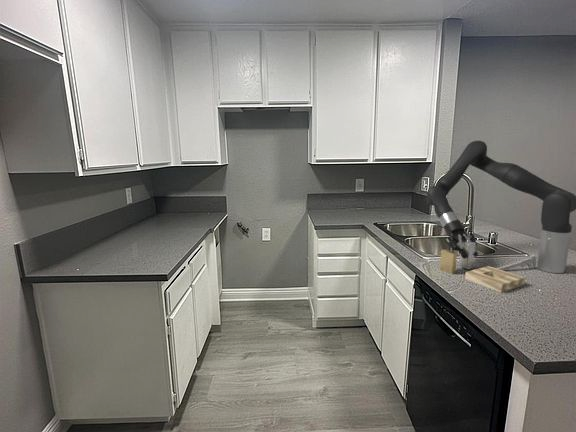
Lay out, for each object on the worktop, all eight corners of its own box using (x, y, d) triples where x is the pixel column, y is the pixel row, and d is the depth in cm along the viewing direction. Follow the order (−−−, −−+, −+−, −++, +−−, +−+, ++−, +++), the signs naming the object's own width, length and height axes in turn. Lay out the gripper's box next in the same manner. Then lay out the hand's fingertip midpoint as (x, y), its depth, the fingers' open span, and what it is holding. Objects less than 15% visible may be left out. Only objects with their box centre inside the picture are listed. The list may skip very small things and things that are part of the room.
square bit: (465, 264, 137) (467, 240, 135) (473, 267, 133) (475, 243, 131) (459, 266, 135) (460, 242, 133) (467, 269, 132) (469, 244, 129)
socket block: (487, 272, 129) (488, 266, 129) (524, 284, 117) (525, 277, 116) (465, 279, 124) (465, 272, 123) (501, 292, 111) (501, 284, 111)
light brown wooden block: (442, 268, 135) (444, 249, 134) (455, 273, 130) (456, 253, 128) (439, 269, 135) (441, 249, 133) (451, 274, 129) (453, 253, 127)
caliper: (533, 268, 134) (534, 254, 133) (535, 268, 133) (537, 255, 132) (491, 272, 131) (493, 258, 130) (493, 272, 130) (495, 258, 129)
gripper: (459, 226, 145) (478, 259, 136) (433, 229, 142) (451, 263, 133) (469, 217, 139) (490, 251, 130) (442, 220, 136) (462, 255, 127)
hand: (470, 256), depth 131 cm, fingers closed on square bit, 4 cm apart
